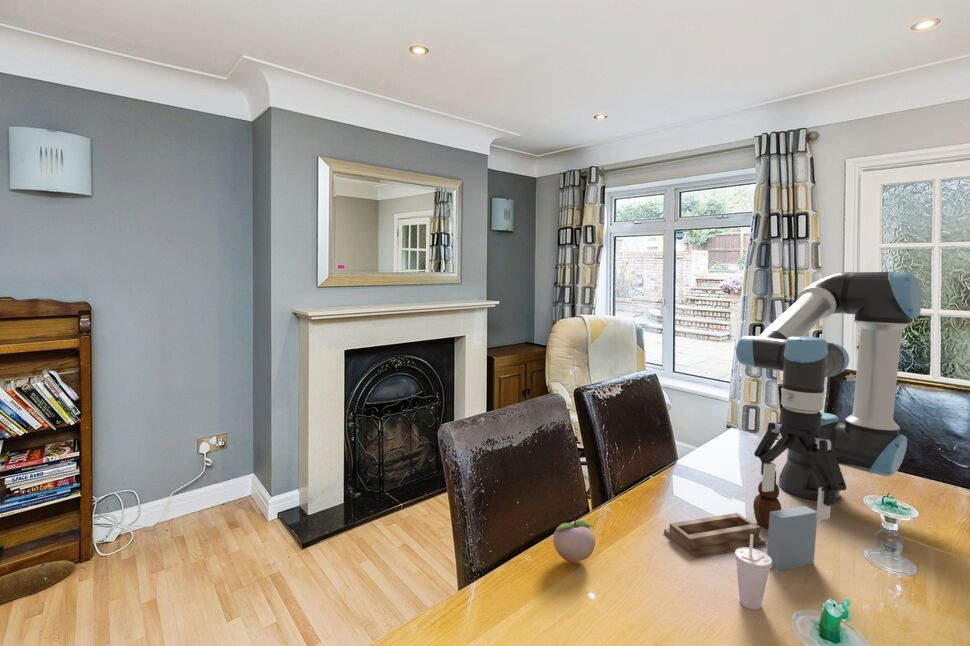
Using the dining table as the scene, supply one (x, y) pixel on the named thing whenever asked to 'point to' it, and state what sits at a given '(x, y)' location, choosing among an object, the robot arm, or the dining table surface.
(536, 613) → the dining table surface
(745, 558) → the smoothie
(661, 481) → the dining table surface
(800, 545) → the gray rectangular block
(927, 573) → the dining table surface
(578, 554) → the decorative fruit
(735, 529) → the wooden tray
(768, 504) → the wooden figurine
